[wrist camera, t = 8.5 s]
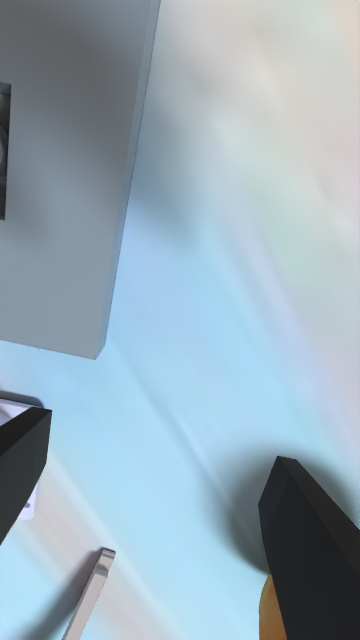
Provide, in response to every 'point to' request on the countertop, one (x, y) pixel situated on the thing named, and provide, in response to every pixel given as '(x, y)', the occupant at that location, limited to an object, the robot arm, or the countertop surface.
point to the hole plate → (68, 162)
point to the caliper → (89, 596)
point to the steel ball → (3, 153)
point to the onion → (270, 614)
